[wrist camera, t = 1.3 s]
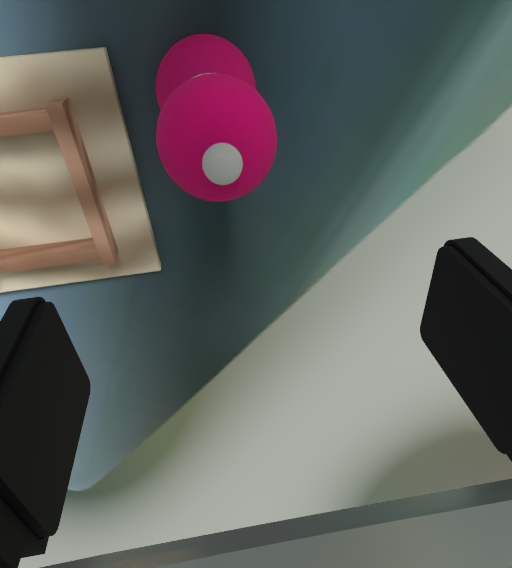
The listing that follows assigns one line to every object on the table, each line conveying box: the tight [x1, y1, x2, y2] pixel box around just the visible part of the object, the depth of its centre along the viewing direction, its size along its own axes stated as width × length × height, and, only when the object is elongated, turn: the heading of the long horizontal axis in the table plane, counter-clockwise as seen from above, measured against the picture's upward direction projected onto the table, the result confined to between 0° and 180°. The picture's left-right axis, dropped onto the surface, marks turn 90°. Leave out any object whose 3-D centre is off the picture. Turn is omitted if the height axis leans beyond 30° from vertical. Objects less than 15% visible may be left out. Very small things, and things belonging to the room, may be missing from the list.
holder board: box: [0, 47, 161, 293], centre depth 35 cm, size 20×20×3 cm
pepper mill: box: [156, 34, 277, 202], centre depth 25 cm, size 7×7×20 cm
